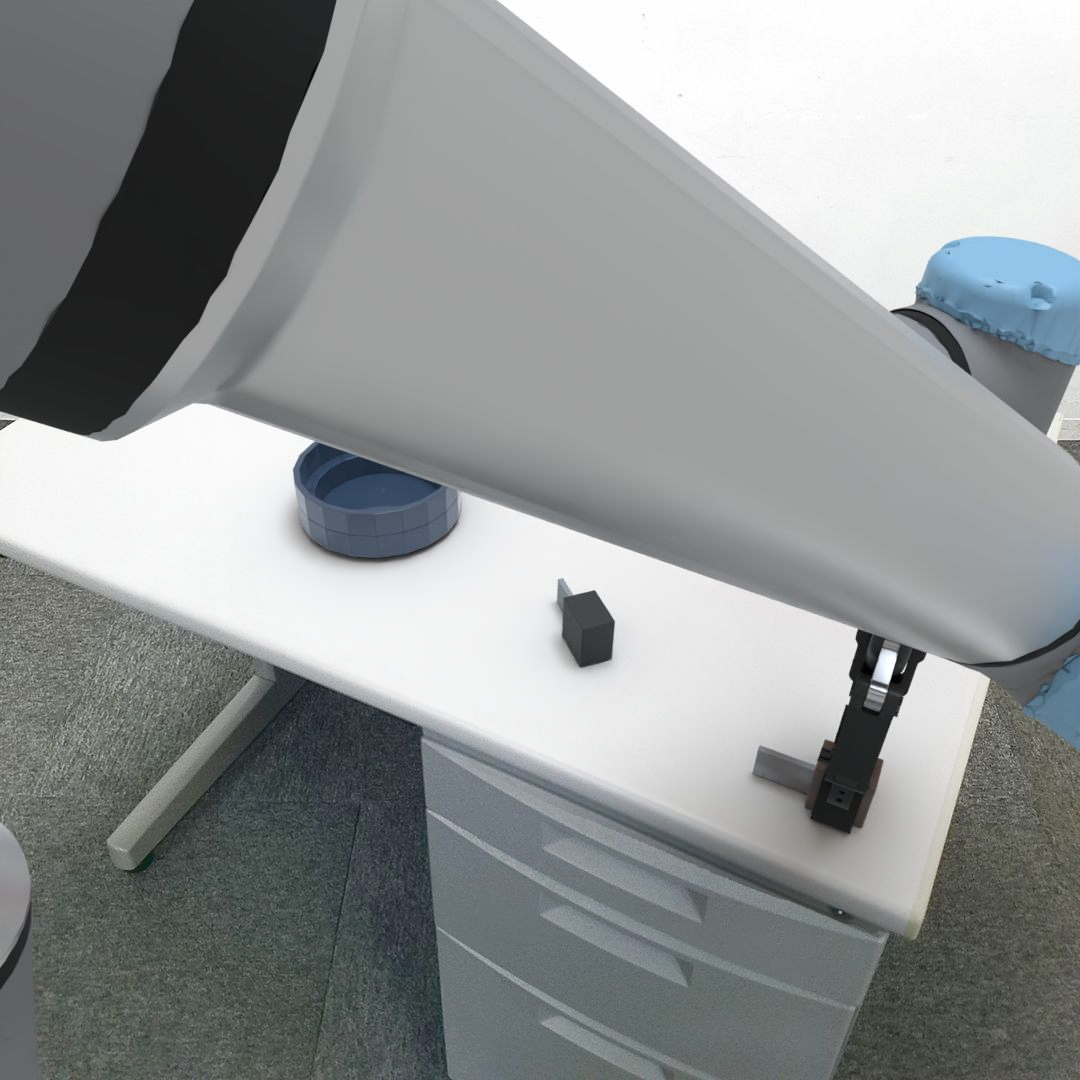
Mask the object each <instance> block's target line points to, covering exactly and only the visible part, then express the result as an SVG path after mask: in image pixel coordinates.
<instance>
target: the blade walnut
mask: <svg viewBox="0 0 1080 1080" xmlns="http://www.w3.org/2000/svg"><path fill="white" fill-rule="evenodd" d="M835 745H836V743H835V742H834V741H831V740H829V739H824V740H823V743H822V745H821V748H822V747H823V748H826V749H828V750H832V749H835ZM884 762H885V761H884V759H883V758H879V757H878V760H877V762H876V765H875V768H874V771H873V774H872V776H871V779H870V782H871V785H870V788H869V790H867V792H866V793H865V795H864V796H863V799H862V801H861V804H860V807H859V810H858V813H857V815H856V818H855V821H854V824H853V826H855V827H857V828H860V829H863V827H864V825H865V822H866V819H867V817H868V814H869V811H870V808H871V805H872V803H873V800H874V798H875V794H876V791H877V789H878V785H879V781H880V777H881V773H882V769H883V766H884ZM825 769H826V765H825V764H822V763H820V762H817V761H816V765H815V764H812V763H810V762H808V761H804V760H801V759H799V758H796V757H793V756H790V755H788V754H785V753H783V752H780V751H777V750H774V749H771V748H769V747H766V746H763V745H759V746H758V748H757V752H756V755H755V761H754V765H753V769H752V774H753V775H756V776H759V777H761V778H764V779H766V780H769V781H772V782H774V783H777V784H780V785H783V786H784V787H788V788H791V789H793V790H796V791H799V792H801V793H804V794H806V796H805V801H804V804H803V806H804V807H805V808H808V809H810V810H813V807H814V804H815V801H816V797H817V794H818V791H819V788H820V785H821V781H822V778H823V775H824V772H825Z"/></svg>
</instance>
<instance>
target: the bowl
mask: <svg viewBox="0 0 1080 1080" xmlns="http://www.w3.org/2000/svg"><path fill="white" fill-rule="evenodd" d="M292 474H293V475H292V476H293V484H294V490H295V495H296V501H297V507H298V513H299V519H300V524H301V527H302V529H303V530H304V532H305V533H306V534H307V535H308V537H309V538H310V540H311V541H313V542H315V543H316V544H318V545H320V546H322V547H323V548H325V549H327V550H328V551H331V552H334V553H338V554H342V555H345V556H350V557H352V558H353V557H354V558H372V559H381V558H386V557H387V558H388V557H395V556H402V555H406V554H410V553H412V552H415V551H418V550H420V549H423V548H426V547H429V546H430V545H432V544H433V543H435V542H436V541H438V540H439V539H441V538H442V537H444V536H446V535H447V534H448V533H449V532H450V531H451V529H452V528H453V526H454V525H455V524H456V522H457V521H458V520H459V518H460V513H461V508H462V492H461V491H458V490H455V489H452V488H449V487H446V486H443V485H440V484H437V483H435V482H432V481H429V480H426V479H423V478H420V477H417V476H414V475H411V474H408V473H406V472H403V471H400V470H397V469H394V468H391V467H388V466H385V465H382V464H380V463H377V462H374V461H371V460H368V459H365V458H362V457H359V456H356V455H353V454H351V453H348V452H345V451H342V450H339V449H336V448H333V447H330V446H327V445H325V444H322V443H319V442H316V441H313V442H311V444H310V445H308V446H307V448H305V449H304V450H303V451H301V453H300V454H299V455H298V458H297V459H296V461H295V463H294V465H293V468H292Z"/></svg>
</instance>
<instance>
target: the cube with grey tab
mask: <svg viewBox="0 0 1080 1080" xmlns="http://www.w3.org/2000/svg"><path fill="white" fill-rule="evenodd" d="M556 588H557V589H556V591H557V592H556V593H557V594H556V603H557V604H558V606H559V608H560V610H561V611H562V624H561V625H562V627H561V636H562V638H563V639H564V642H565V643H566V645H567V647H568V648H569V650H570V652H571V653H572V655H573V658H574V659H575V660H576V662H577V664H578V666H579V667H580V668H584V667H587V666H590V665H591V666H592V665H595V664H598V663H602V662H607V661H611V660H612V659H613V648H614V636H615V627H616V626H615V625H616V620H615V618H614V617H613V616H612V614H611V613H610V611H609V610H608V608H607V607H606V605H605V603H604V601H603V600H602V599H601V597H600V595H599V593H598V592H597V591H596V590H595V589H593V590H589V591H585V592H581V593H577V594H573V592H572V590H571V588H570V587H569V585H568V584H567V582H566V581H565V579H564V578H563V577H560V578H558V579H557V587H556Z"/></svg>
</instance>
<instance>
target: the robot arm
mask: <svg viewBox="0 0 1080 1080" xmlns="http://www.w3.org/2000/svg"><path fill="white" fill-rule="evenodd" d="M914 294H915V301H914V303H913V304H911V305H907V306H903V307H898V308H894V309H891V310H888V309H887V308H886V307H885V306H884V305H882V304H881V303H880V302H879V301H877V300H876V299H875V298H874V297H872V296H871V295H870V294H868V293H867V292H866V291H865V290H863V289H862V288H861V287H860V286H858V285H857V284H856V283H855V282H853V281H852V280H851V279H850V278H848V277H847V276H846V275H845V274H844V273H842V272H841V271H839V270H838V269H837V268H836V267H835V266H833V265H832V264H831V263H829V262H828V261H827V260H826V259H825V258H823V257H822V256H821V255H819V254H818V253H817V252H816V251H814V250H813V249H812V248H811V247H809V246H808V245H807V244H805V243H804V242H803V241H802V240H800V239H799V238H798V237H796V236H795V235H794V234H793V233H792V232H791V231H789V230H788V229H787V228H785V227H784V226H783V225H781V223H779V222H778V221H776V220H775V219H774V218H773V217H772V216H770V215H769V214H768V213H767V212H765V211H763V210H762V209H761V208H760V207H758V206H757V205H756V203H754V202H752V201H751V200H750V199H749V198H747V197H746V196H745V195H743V194H742V193H741V192H740V191H739V190H738V189H736V188H734V187H733V186H732V185H731V184H730V183H728V182H727V181H726V180H725V179H723V178H722V177H721V176H720V175H718V174H717V173H716V172H715V171H714V170H713V169H711V168H710V167H708V166H707V165H706V164H705V163H703V162H702V161H701V160H699V158H697V157H696V156H695V155H693V154H692V153H691V152H689V150H687V149H686V148H685V147H683V146H682V145H680V144H679V143H678V142H677V141H675V139H673V138H672V137H671V136H670V135H668V134H666V133H665V131H663V130H662V129H660V128H659V127H658V126H656V125H655V124H654V123H653V122H651V120H649V119H648V118H647V117H645V116H644V115H643V114H641V113H640V112H639V111H638V110H636V109H635V108H634V107H633V106H631V104H630V103H628V102H626V101H625V100H624V99H623V98H622V97H621V96H619V95H618V94H616V92H614V91H612V89H610V88H609V87H608V86H606V85H605V84H604V83H602V82H601V81H600V80H599V79H597V78H596V77H595V76H594V75H592V74H591V73H590V72H588V71H587V70H586V69H585V68H584V67H582V66H581V65H580V64H578V63H577V62H576V61H575V60H574V59H572V58H571V57H569V56H568V55H567V54H566V53H565V52H564V51H562V50H561V49H560V48H558V47H557V46H556V45H555V44H553V43H552V42H551V41H549V40H548V39H547V38H545V37H544V36H543V35H542V34H541V33H539V32H538V31H536V29H534V28H533V27H532V26H531V25H529V24H528V23H527V22H526V21H524V20H523V19H522V18H520V17H519V16H518V15H516V13H514V12H513V11H512V10H510V9H509V8H508V7H507V6H505V5H504V4H503V3H501V2H500V1H499V0H0V413H4V414H7V415H10V416H13V417H16V418H17V417H18V418H20V419H23V420H26V421H31V422H33V423H37V424H40V425H43V426H47V427H50V428H54V429H57V430H61V431H63V432H67V433H71V434H74V435H77V436H81V437H84V438H87V439H91V440H96V441H98V442H102V443H103V442H113V441H118V440H120V439H123V438H124V437H126V436H128V435H131V434H132V433H134V432H137V431H139V430H142V429H143V428H145V427H147V426H149V425H151V424H153V423H155V422H158V421H160V420H161V419H164V418H166V417H167V416H170V415H172V414H174V413H176V412H178V411H180V410H183V409H185V408H186V407H188V406H191V405H193V404H194V405H195V404H198V405H208V406H212V407H215V408H217V409H221V410H224V411H226V412H229V413H232V414H234V415H238V416H240V417H244V418H246V419H249V420H252V421H256V422H258V423H262V424H263V425H267V426H269V427H273V428H276V429H278V430H281V431H285V432H286V433H290V434H293V435H296V436H299V437H302V438H303V439H308V440H309V441H313V442H315V441H316V442H319V443H322V444H325V445H327V446H330V447H333V448H336V449H339V450H342V451H345V452H348V453H351V454H353V455H356V456H359V457H362V458H365V459H368V460H371V461H374V462H377V463H380V464H382V465H385V466H388V467H391V468H394V469H397V470H400V471H403V472H406V473H408V474H411V475H414V476H417V477H420V478H423V479H426V480H429V481H432V482H435V483H437V484H440V485H443V486H446V487H449V488H452V489H455V490H458V491H461V493H464V494H466V495H469V496H473V497H475V498H478V499H481V500H484V501H486V502H490V503H493V504H495V505H497V506H498V505H499V506H501V507H504V508H507V509H510V510H513V511H516V512H518V513H522V514H525V515H527V516H530V517H533V518H535V519H538V520H542V521H545V522H547V523H551V524H553V525H556V526H559V527H562V528H565V529H568V530H570V531H574V532H577V533H580V534H582V535H585V536H589V537H591V538H594V539H597V540H600V541H602V542H605V543H609V544H611V545H614V546H617V547H620V548H623V549H626V550H629V551H632V552H634V553H638V554H640V555H642V556H643V555H644V556H646V557H649V558H652V559H655V560H658V561H661V562H662V563H663V562H664V563H666V564H669V565H672V566H675V567H677V568H680V569H684V570H686V571H689V572H693V573H695V574H698V575H701V576H704V577H706V578H710V579H712V580H715V581H718V582H721V583H724V584H727V585H730V586H733V587H736V588H738V589H741V590H745V591H747V592H750V593H753V594H756V595H759V596H762V597H764V598H768V599H770V600H774V601H776V602H779V603H782V604H785V605H788V606H791V607H793V608H797V609H799V610H802V611H805V612H808V613H810V614H814V615H817V616H820V617H822V618H826V619H828V620H831V621H834V622H837V623H840V624H842V625H845V626H849V627H851V628H854V629H857V630H856V634H855V642H856V644H857V646H856V649H855V652H854V656H853V659H852V661H851V664H850V669H849V672H848V677H849V679H850V680H851V681H852V683H851V687H850V690H849V694H848V696H849V701H848V704H845V706H844V709H843V713H842V716H841V718H840V722H839V725H838V728H837V732H836V735H835V738H834V741H833V742H835V743H836V745H835V749H832V750H828V749H826V748H823V747H822V746H821V748H820V751H819V753H818V757H817V761H816V763H817V762H820V763H822V764H825V765H826V769H825V772H824V775H823V778H822V781H821V785H820V788H819V791H818V794H817V797H816V801H815V804H814V807H813V809H811V813H810V817H809V819H810V820H812V821H815V822H817V823H820V824H822V825H824V826H828V827H830V828H833V829H835V830H838V831H841V832H844V833H846V834H849V835H850V834H851V832H852V829H853V826H854V825H853V824H854V821H855V818H856V815H857V813H858V810H859V807H860V804H861V801H862V799H863V796H864V795H865V793H866V792H867V790H869V788H870V785H871V782H870V779H871V776H872V774H873V771H874V768H875V765H876V762H877V760H878V758H879V757H880V755H881V753H882V748H883V746H884V743H885V741H886V738H887V735H888V732H889V730H890V727H891V724H892V721H893V719H894V717H895V718H898V717H899V713H900V710H901V706H902V704H903V701H904V698H905V696H907V694H908V693H909V690H910V687H911V685H912V682H913V679H914V677H915V673H916V670H917V668H918V665H919V664H920V663H921V662H924V660H925V659H926V657H927V654H929V655H932V656H935V657H937V658H938V657H939V658H940V659H944V660H947V661H950V662H952V663H954V664H957V665H959V666H962V667H964V668H966V669H970V670H972V671H975V672H977V673H980V674H981V675H983V676H986V678H988V679H990V680H991V681H992V682H994V684H996V685H998V686H999V687H1000V688H1001V689H1002V690H1004V692H1005V693H1007V694H1008V695H1009V696H1010V697H1011V698H1013V699H1014V701H1016V702H1017V703H1018V704H1019V705H1020V706H1021V707H1022V708H1021V709H1020V711H1021V712H1022V713H1024V714H1025V715H1026V716H1027V717H1028V718H1029V719H1036V720H1038V721H1040V723H1042V724H1043V725H1044V726H1046V727H1047V728H1049V729H1050V731H1052V732H1054V733H1055V734H1057V736H1059V737H1061V738H1062V739H1063V740H1064V741H1066V742H1067V743H1068V744H1070V745H1071V746H1072V747H1074V748H1075V749H1076V750H1078V751H1079V752H1080V463H1079V462H1078V461H1077V460H1076V459H1075V458H1074V457H1073V455H1072V454H1071V453H1069V452H1068V451H1067V450H1065V448H1063V447H1061V446H1060V445H1059V444H1058V443H1056V442H1055V441H1054V440H1053V439H1051V438H1050V437H1049V436H1047V435H1048V433H1049V432H1050V431H1049V430H1050V429H1051V426H1052V423H1053V421H1054V419H1055V417H1056V414H1057V412H1058V410H1059V407H1060V405H1061V403H1062V400H1063V398H1064V395H1065V393H1066V391H1067V389H1068V387H1069V384H1070V381H1071V379H1072V377H1073V375H1074V372H1075V370H1076V368H1077V366H1078V367H1079V366H1080V260H1079V259H1078V258H1077V257H1074V256H1072V255H1070V254H1068V253H1066V252H1064V251H1061V250H1059V249H1057V248H1054V247H1051V246H1049V245H1046V244H1043V243H1039V242H1035V241H1031V240H1027V239H1021V238H1015V237H1008V236H996V235H995V236H994V235H981V236H980V235H979V236H968V237H962V238H958V239H954V240H951V241H949V242H947V243H944V245H943V246H941V248H940V249H939V250H937V251H936V252H934V253H933V254H932V255H931V256H930V258H929V259H928V261H927V264H926V267H925V269H924V272H923V274H922V278H921V280H920V281H919V282H918V284H917V285H915V292H914ZM20 845H21V844H20V843H19V841H18V839H16V837H15V836H14V835H13V833H12V832H11V831H10V830H9V828H8V827H6V826H5V825H4V824H3V823H2V821H0V1080H41V1079H40V1065H39V1051H38V1039H37V1038H38V1037H37V1024H36V1023H37V1022H36V1021H37V1020H36V1007H35V989H34V987H35V985H34V984H35V983H34V954H33V953H34V951H33V949H34V948H33V947H34V946H33V934H34V933H33V932H34V916H33V915H34V914H33V906H32V881H31V873H30V868H29V866H28V863H27V860H26V855H25V854H24V853H25V852H24V850H23V849H22V847H21V846H20Z"/></svg>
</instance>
